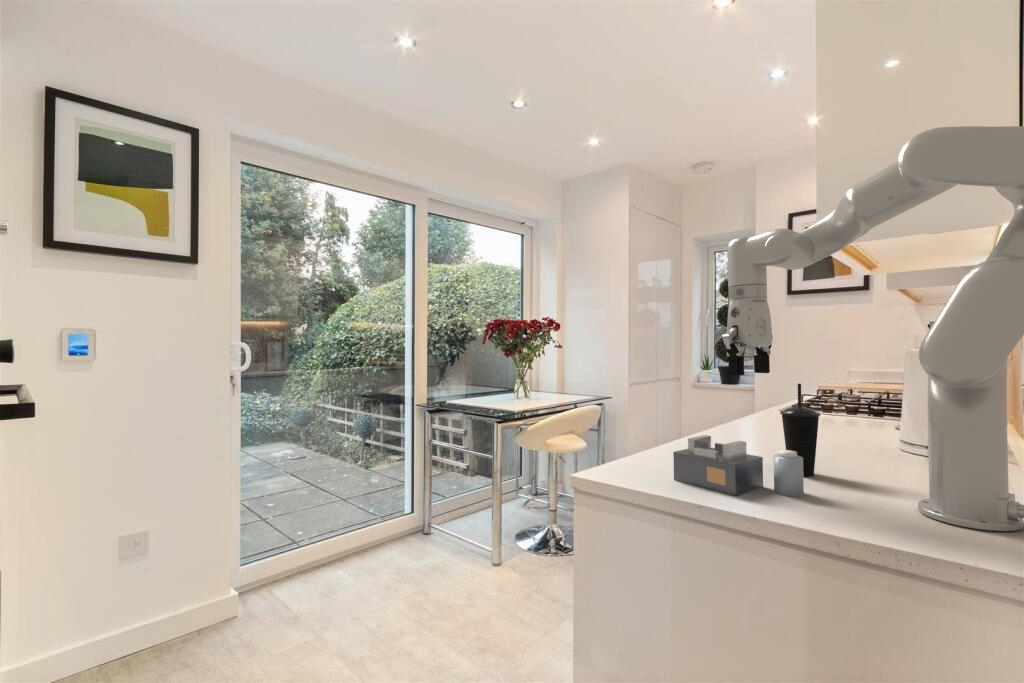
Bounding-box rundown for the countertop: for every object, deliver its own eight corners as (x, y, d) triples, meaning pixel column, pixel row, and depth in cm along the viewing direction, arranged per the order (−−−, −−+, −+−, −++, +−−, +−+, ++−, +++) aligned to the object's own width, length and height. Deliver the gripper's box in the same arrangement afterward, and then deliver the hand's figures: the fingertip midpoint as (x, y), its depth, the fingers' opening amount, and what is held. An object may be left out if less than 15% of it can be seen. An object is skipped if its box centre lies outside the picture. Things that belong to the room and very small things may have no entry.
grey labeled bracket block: (763, 486, 98) (762, 442, 98) (735, 496, 92) (734, 448, 92) (701, 472, 109) (701, 432, 109) (673, 479, 104) (673, 437, 104)
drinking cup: (810, 469, 110) (808, 382, 111) (828, 478, 103) (827, 385, 103) (775, 469, 111) (773, 382, 111) (791, 478, 104) (789, 385, 104)
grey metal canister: (808, 493, 93) (807, 452, 93) (795, 498, 90) (795, 455, 90) (782, 487, 97) (781, 447, 97) (769, 492, 94) (768, 451, 94)
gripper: (741, 291, 97) (743, 376, 96) (786, 295, 106) (788, 372, 106) (707, 295, 103) (709, 375, 103) (753, 298, 112) (754, 371, 112)
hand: (749, 374), depth 104 cm, fingers open, 9 cm apart
